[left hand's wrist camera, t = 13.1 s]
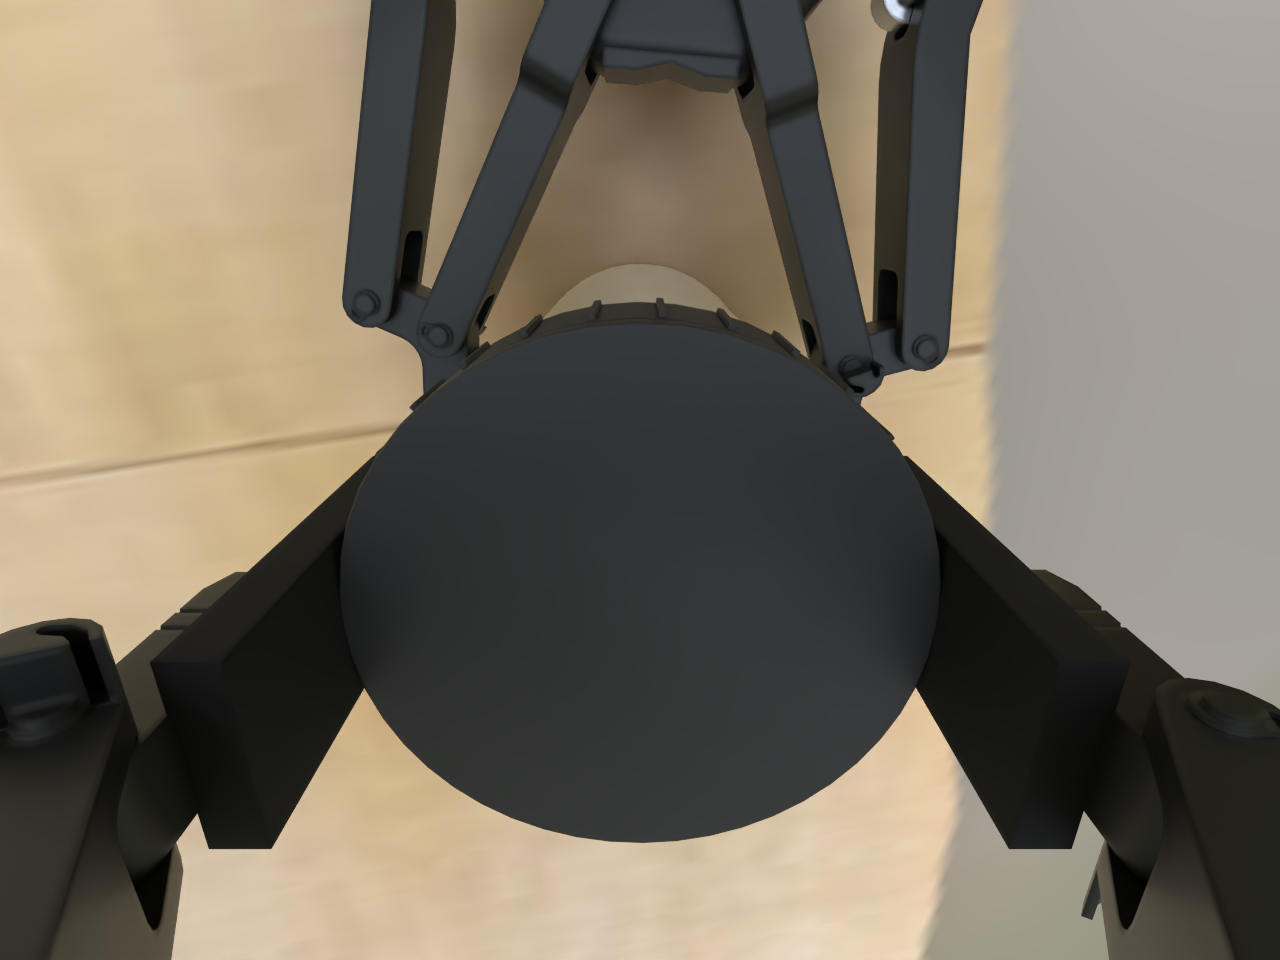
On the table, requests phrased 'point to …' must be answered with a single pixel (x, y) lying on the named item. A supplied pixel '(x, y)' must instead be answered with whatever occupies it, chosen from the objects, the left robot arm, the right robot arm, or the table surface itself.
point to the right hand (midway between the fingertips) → (628, 572)
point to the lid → (640, 575)
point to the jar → (639, 289)
